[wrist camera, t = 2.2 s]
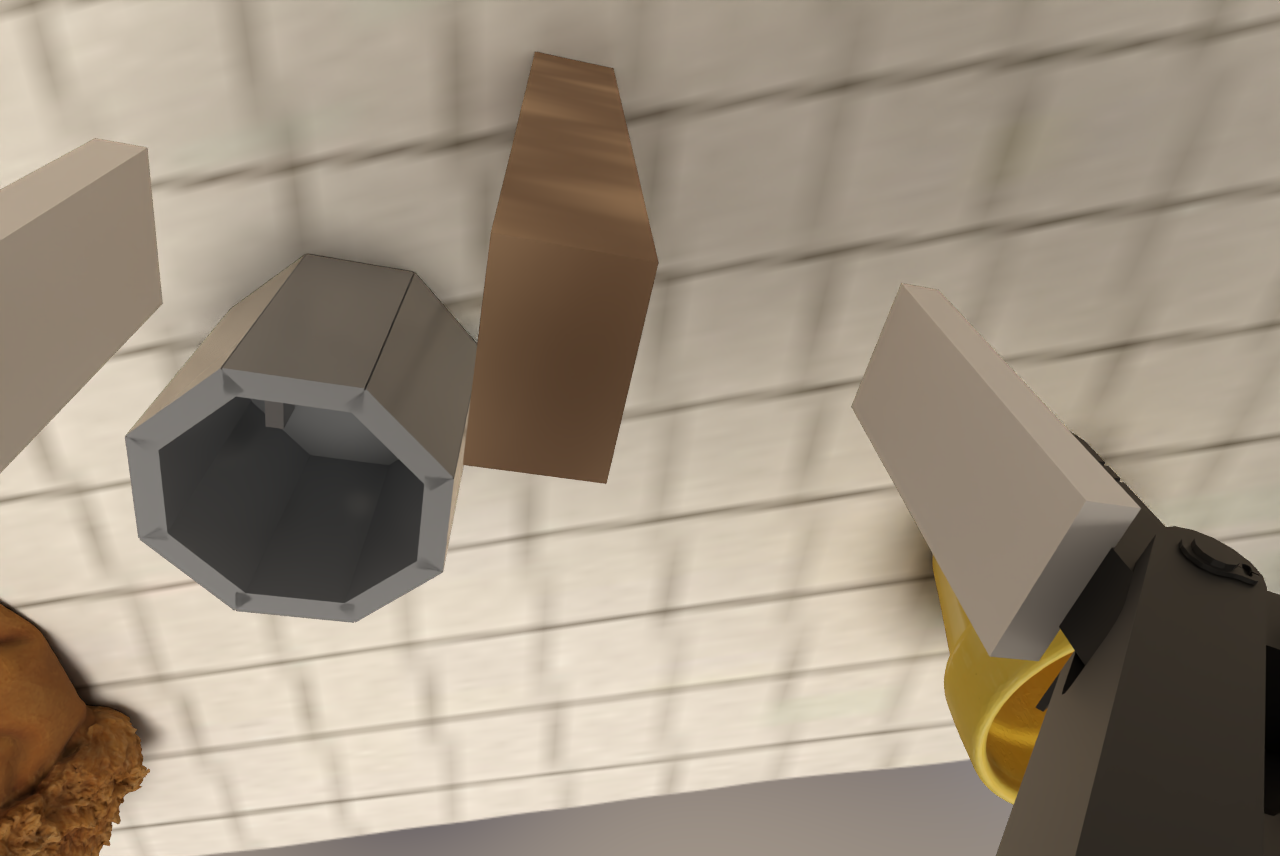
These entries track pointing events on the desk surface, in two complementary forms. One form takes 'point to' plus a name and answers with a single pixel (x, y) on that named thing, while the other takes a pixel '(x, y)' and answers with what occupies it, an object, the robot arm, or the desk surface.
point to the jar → (311, 444)
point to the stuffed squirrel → (57, 753)
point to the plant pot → (994, 696)
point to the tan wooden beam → (562, 282)
